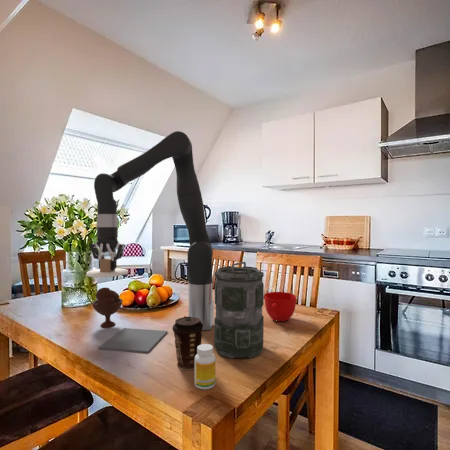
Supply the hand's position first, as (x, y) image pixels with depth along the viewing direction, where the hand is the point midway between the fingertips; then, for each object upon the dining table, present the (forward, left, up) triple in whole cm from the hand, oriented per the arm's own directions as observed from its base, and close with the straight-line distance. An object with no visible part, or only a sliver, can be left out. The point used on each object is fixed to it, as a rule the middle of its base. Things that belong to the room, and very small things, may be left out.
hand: (107, 269), depth 118 cm
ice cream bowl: (0, 0, -22) cm, 22 cm away
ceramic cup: (-66, -17, -22) cm, 72 cm away
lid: (0, 0, -1) cm, 1 cm away
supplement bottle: (-47, +34, -22) cm, 62 cm away
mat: (-17, +11, -22) cm, 30 cm away
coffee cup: (-40, +25, -22) cm, 52 cm away
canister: (-53, +12, -22) cm, 59 cm away
